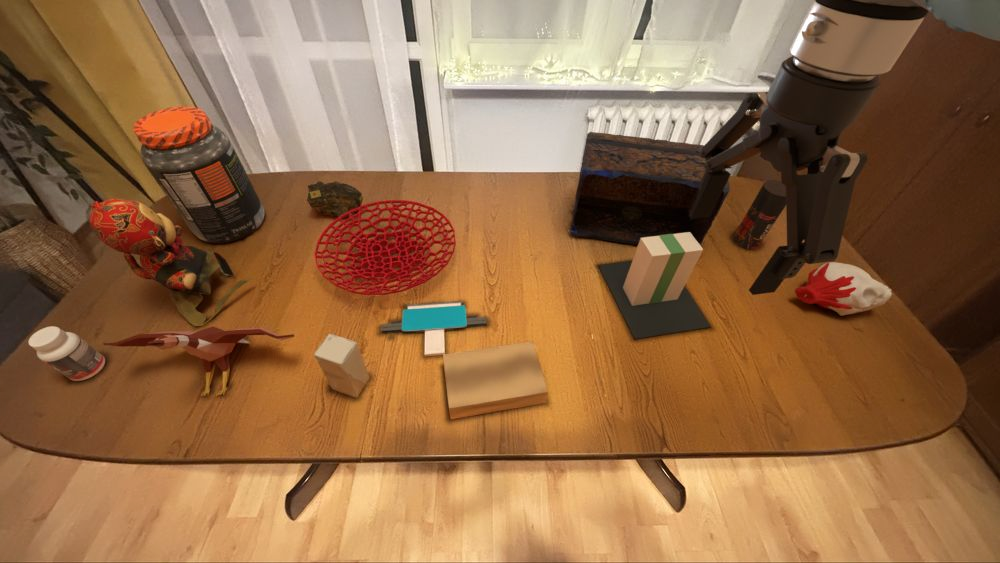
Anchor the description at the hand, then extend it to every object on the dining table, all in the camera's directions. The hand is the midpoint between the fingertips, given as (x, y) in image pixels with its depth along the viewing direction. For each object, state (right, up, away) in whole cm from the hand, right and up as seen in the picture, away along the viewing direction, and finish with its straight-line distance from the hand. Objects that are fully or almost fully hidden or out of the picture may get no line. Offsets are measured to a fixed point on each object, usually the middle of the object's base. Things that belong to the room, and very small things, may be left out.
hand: (727, 250), depth 51 cm
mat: (+4, -7, +36) cm, 37 cm away
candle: (+40, -8, +36) cm, 54 cm away
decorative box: (+4, +10, +51) cm, 52 cm away
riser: (-29, -22, +21) cm, 42 cm away
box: (-53, -21, +21) cm, 61 cm away
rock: (-68, +14, +52) cm, 87 cm away
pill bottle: (-100, -19, +22) cm, 104 cm away
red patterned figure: (-88, -7, +33) cm, 94 cm away
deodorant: (+31, +6, +48) cm, 58 cm away
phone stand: (-40, -13, +29) cm, 51 cm away
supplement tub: (-92, +10, +48) cm, 104 cm away
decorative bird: (-76, -19, +22) cm, 81 cm away
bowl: (-52, +1, +42) cm, 67 cm away
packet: (+3, -2, +30) cm, 31 cm away
